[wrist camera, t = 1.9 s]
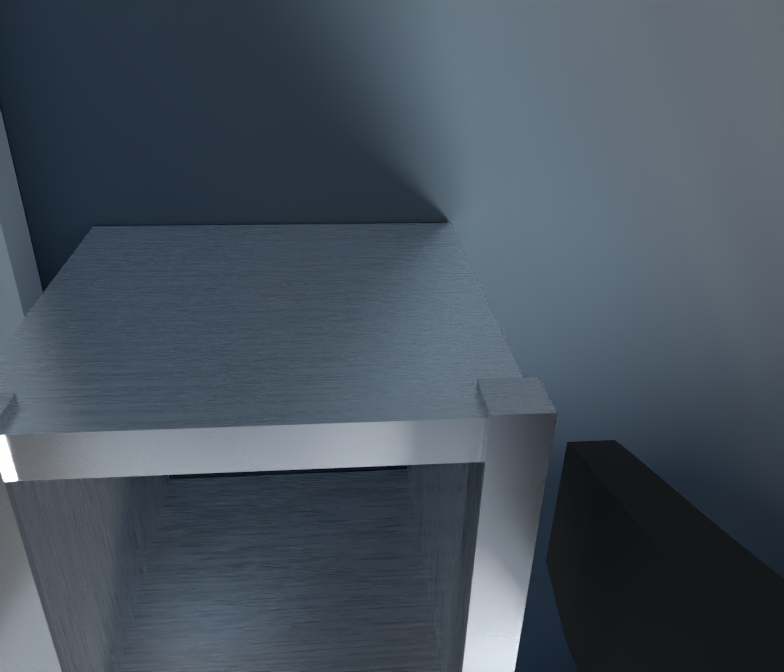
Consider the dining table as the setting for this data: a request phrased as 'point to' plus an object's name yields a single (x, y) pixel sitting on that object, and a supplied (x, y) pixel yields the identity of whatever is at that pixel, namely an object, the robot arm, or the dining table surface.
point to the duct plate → (14, 250)
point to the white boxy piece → (266, 457)
